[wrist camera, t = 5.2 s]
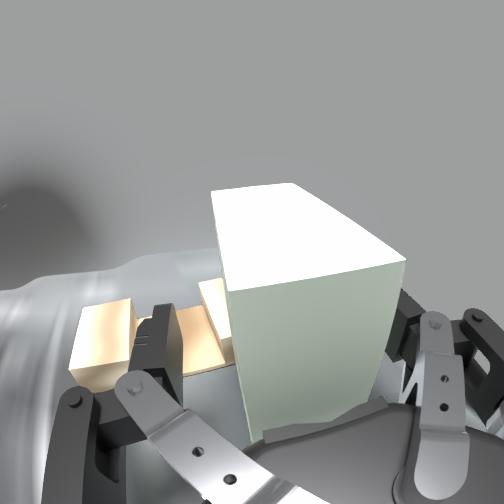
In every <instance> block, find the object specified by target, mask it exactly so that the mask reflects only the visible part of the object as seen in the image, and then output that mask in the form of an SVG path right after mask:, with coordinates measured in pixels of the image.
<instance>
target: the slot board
mask: <svg viewBox="0 0 504 504" xmlns="http://www.w3.org/2000/svg"><path fill="white" fill-rule="evenodd" d="M199 288H200V293H201V298H202V303H203V305H200V306H196V307H192V308H187V309H183V310H179V311H175V312H176V315H177V319H178V322H179V326H180V329H181V333H182V338H183V377H185V376H189V375H194V374H198V373H202V372H206V371H210V370H214V369H217V368H221V367H225V366H228V365H232V364H235V363H236V361H235V355H234V349H233V343H232V337H231V331H230V325H229V318H228V312H227V306H226V299H225V292H224V286H223V279H222V278H218V279H214V280H210V281H205V282H201V283H199ZM147 318H152V317H147ZM144 319H146V318H142V319H137V316H136V313H135V310H134V307H133V304H132V301H131V299H130V298H129V299H124V300H120V301H115V302H110V303H105V304H101V305H96V306H91V307H86V308H83V312H82V315H81V319H80V323H79V326H78V330H77V334H76V338H75V343H74V347H73V352H72V356H71V361H70V366H69V371H70V372H71V374H72V375H73V377H74V378H75V380H76V381H77V383H78V384H79V386H82V387H86V388H88V389H89V390H90V391H91V392H92V393H98V392H104V391H108V390H111V389H113V388H114V387H115V384H116V382H117V380H118V379H119V378H120V377H121V376H122V375H124V374H125V373H127V372H128V367H129V362H130V357H131V353H132V348H133V345H134V340H135V338H136V337H135V335H136V331H137V327H138V326H139V325H140V323H141V322H142V321H143V320H144Z"/></svg>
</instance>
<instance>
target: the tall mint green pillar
mask: <svg viewBox="0 0 504 504" xmlns="http://www.w3.org/2000/svg"><path fill="white" fill-rule="evenodd" d="M211 195H212V203H213V211H214V219H215V227H216V235H217V243H218V250H219V257H220V265H221V272H222V279H223V286H224V292H225V299H226V306H227V312H228V318H229V325H230V331H231V337H232V343H233V349H234V355H235V361H236V367H237V373H238V378H239V383H240V388H241V393H242V399H243V404H244V409H245V414H246V418H247V423H248V428H249V433H250V438H251V442H252V444H253V443H255V442H256V441H259V440H261V439H263V435H262V430H267V429H272V428H277V427H282V426H286V425H291V424H300V423H321V422H329V421H332V420H334V419H335V418H337V417H339V416H340V415H342V414H344V413H345V412H347V411H349V410H350V409H352V408H354V407H355V406H357V405H360V404H363V403H366V402H367V400H368V398H369V395H370V392H371V390H372V387H373V384H374V381H375V379H376V376H377V373H378V370H379V367H380V364H381V361H382V358H383V355H384V351H385V348H386V345H387V341H388V338H389V334H390V331H391V327H392V323H393V320H394V316H395V312H396V308H397V303H398V299H399V295H400V290H401V285H402V280H403V275H404V270H405V265H406V259H405V258H404V257H402V256H401V255H400V254H398V253H397V252H395V251H394V250H393V249H391V248H390V247H389V246H387V245H386V244H384V243H383V242H382V241H380V240H379V239H378V238H376V237H375V236H373V235H372V234H370V233H369V232H368V231H366V230H365V229H363V228H362V227H360V226H359V225H357V224H356V223H354V222H353V221H351V220H350V219H348V218H347V217H345V216H344V215H342V214H341V213H339V212H338V211H336V210H335V209H333V208H332V207H330V206H328V205H327V204H325V203H324V202H322V201H321V200H319V199H317V198H316V197H314V196H312V195H311V194H309V193H308V192H306V191H304V190H303V189H301V188H300V187H298V186H296V185H294V184H293V183H287V184H275V185H265V186H256V187H246V188H237V189H230V190H221V191H213V192H211Z"/></svg>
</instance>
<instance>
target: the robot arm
mask: <svg viewBox="0 0 504 504" xmlns="http://www.w3.org/2000/svg"><path fill="white" fill-rule="evenodd" d="M135 337H136V338H135V340H134V345H133V348H132V353H131V357H130V362H129V367H128V372H127V373H125V374H124V375H122V376H121V377H120V378H119V379H118V380H117V382H116V384H115V387H114V388H113V389H111V390H108V391H104V392H101V393H97V394H92V392H91V391H90V390H89V389H88V388H86V387H82V386H77V387H73V388H70V389H69V390H67V391H66V392H65V393H64V394H63V395H62V396H61V398H60V401H59V404H58V408H57V412H56V416H55V420H54V425H53V429H52V434H51V438H50V443H49V449H48V454H47V460H46V466H45V473H44V481H43V490H42V501H41V504H126V445H129V444H132V443H136V442H139V441H143V440H146V439H148V440H149V442H150V443H151V444H152V445H153V446H154V448H155V449H156V450H157V451H158V452H159V453H160V455H161V456H162V457H163V458H164V459H165V460H166V461H167V462H168V463H169V464H170V466H171V467H172V468H173V469H174V470H175V471H176V472H177V473H178V474H179V475H180V476H181V477H182V478H183V479H184V480H185V481H186V482H187V483H188V484H189V485H190V486H191V487H192V488H193V489H194V490H195V491H196V492H197V493H198V494H199V495H200V496H201V497H203V498H204V499H205V500H204V502H203V503H202V504H504V331H503V330H502V329H501V328H500V327H499V326H498V325H497V324H496V323H495V322H494V321H493V320H492V319H491V318H490V317H489V316H488V315H487V314H486V313H484V312H483V311H481V310H479V309H474V308H471V309H467V310H466V311H465V312H464V315H463V318H462V320H454V321H450V320H449V319H448V318H447V317H446V316H445V315H443V314H442V313H439V312H434V311H429V312H426V311H425V310H424V309H423V308H422V307H421V306H420V305H419V304H418V303H417V302H416V301H415V300H413V299H412V298H411V297H410V296H408V294H407V293H406V292H405V291H403V289H402V288H401V290H400V295H399V299H398V303H397V308H396V312H395V316H394V320H393V323H392V327H391V331H390V334H389V338H388V341H387V345H386V348H385V352H386V353H387V355H388V356H389V357H390V359H391V360H392V362H393V363H394V362H397V361H399V360H402V359H404V361H405V363H404V366H403V372H402V379H401V386H400V393H399V399H398V403H386V401H385V400H384V398H383V396H381V397H379V398H376V399H374V400H371V401H368V402H366V403H363V404H360V405H357V406H355V407H354V408H352V409H350V410H349V411H347V412H345V413H344V414H342V415H340V416H339V417H337V418H335V419H334V420H332V421H329V422H321V423H300V424H291V425H286V426H282V427H277V428H272V429H267V430H262V435H263V439H261V440H259V441H256V442H255V443H253V444H251V445H249V446H248V447H246V448H245V449H244V450H242V451H240V450H238V449H237V448H236V447H235V446H233V445H232V444H231V443H229V442H228V441H227V440H226V439H224V438H223V437H222V436H221V435H220V434H218V433H217V432H216V431H215V430H214V429H212V428H211V427H210V426H209V425H208V424H207V423H205V422H204V421H203V420H202V419H201V418H200V417H199V416H198V415H196V414H195V413H194V412H193V411H192V410H190V409H186V410H185V409H183V338H182V333H181V329H180V326H179V322H178V319H177V315H176V312H175V308H174V305H173V303H169V304H161V305H155V306H154V310H153V315H152V318H146V319H144V320H143V321H142V322H141V323H140V325H139V326H138V327H137V331H136V335H135ZM478 349H479V350H480V351H481V352H482V353H483V355H484V356H485V357H486V358H487V359H488V361H489V362H490V371H489V373H488V375H487V374H486V372H485V371H484V370H483V369H482V368H481V366H480V365H479V364H478V363H477V361H476V360H475V359H474V356H475V355H476V352H477V350H478ZM465 397H466V398H467V399H468V401H469V402H470V404H471V405H472V407H473V408H474V410H475V411H476V413H477V414H478V416H479V417H480V419H481V420H482V422H483V423H484V425H485V427H486V431H487V433H486V432H483V431H480V430H477V429H474V428H471V427H468V426H465Z"/></svg>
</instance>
